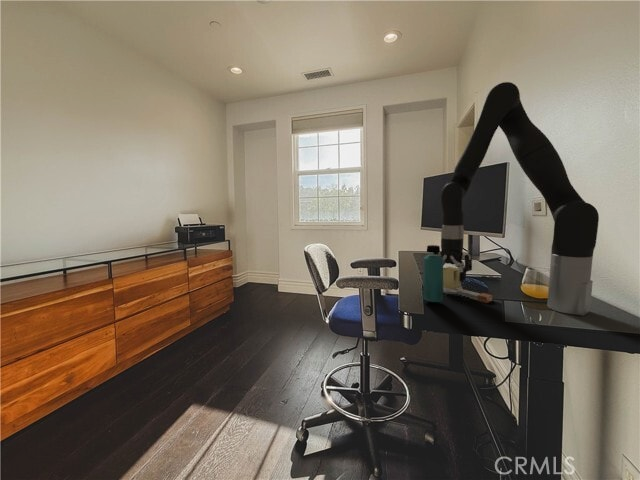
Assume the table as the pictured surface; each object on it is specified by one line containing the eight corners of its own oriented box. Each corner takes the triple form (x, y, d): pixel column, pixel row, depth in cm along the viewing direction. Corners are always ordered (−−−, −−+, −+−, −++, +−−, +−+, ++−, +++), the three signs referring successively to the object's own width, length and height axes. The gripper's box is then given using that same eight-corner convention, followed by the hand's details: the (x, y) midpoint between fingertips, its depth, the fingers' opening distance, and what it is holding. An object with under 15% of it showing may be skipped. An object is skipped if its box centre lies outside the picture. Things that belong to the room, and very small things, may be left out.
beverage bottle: (446, 306, 89) (448, 246, 87) (426, 306, 89) (427, 247, 87) (437, 299, 96) (439, 243, 93) (419, 300, 96) (420, 244, 93)
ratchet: (434, 291, 105) (435, 278, 104) (446, 287, 109) (447, 275, 108) (483, 304, 90) (484, 290, 89) (495, 299, 94) (495, 285, 93)
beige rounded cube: (460, 287, 102) (461, 269, 101) (453, 289, 100) (453, 271, 99) (448, 284, 106) (448, 266, 106) (440, 286, 104) (441, 268, 103)
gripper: (477, 237, 97) (475, 281, 99) (440, 234, 109) (439, 274, 111) (465, 239, 93) (463, 285, 95) (429, 236, 105) (428, 277, 107)
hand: (450, 279), depth 103 cm, fingers open, 8 cm apart
